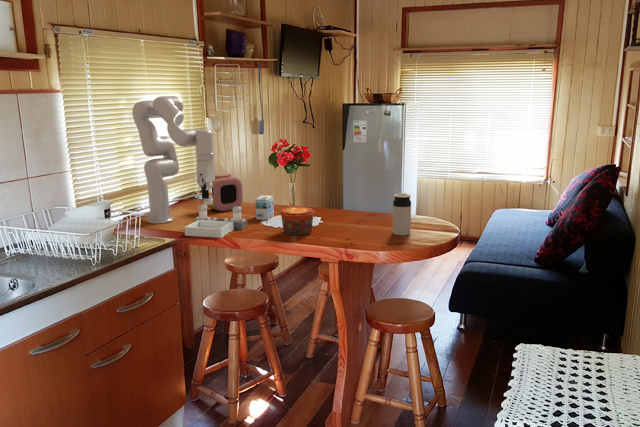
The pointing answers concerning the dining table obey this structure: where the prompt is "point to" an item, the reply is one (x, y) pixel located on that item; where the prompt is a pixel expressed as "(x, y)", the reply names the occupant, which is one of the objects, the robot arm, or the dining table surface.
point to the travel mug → (401, 214)
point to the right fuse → (237, 214)
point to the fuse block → (236, 225)
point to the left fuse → (202, 212)
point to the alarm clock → (226, 192)
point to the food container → (297, 220)
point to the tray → (209, 228)
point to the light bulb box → (264, 207)
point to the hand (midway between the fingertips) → (207, 197)
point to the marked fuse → (209, 200)
